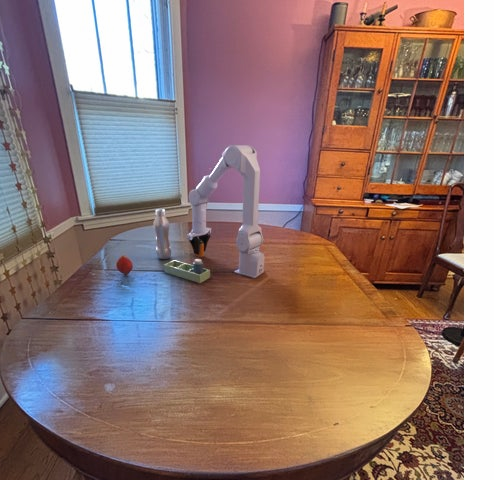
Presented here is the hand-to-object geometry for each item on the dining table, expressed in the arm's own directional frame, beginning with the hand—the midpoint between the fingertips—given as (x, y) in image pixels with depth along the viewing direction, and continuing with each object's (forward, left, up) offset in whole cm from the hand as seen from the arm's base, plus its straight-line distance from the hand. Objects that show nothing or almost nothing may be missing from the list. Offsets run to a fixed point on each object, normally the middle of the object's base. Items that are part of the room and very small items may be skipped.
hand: (199, 252), depth 131 cm
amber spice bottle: (0, 0, -2) cm, 2 cm away
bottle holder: (-9, +20, -2) cm, 22 cm away
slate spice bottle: (-15, +20, -1) cm, 25 cm away
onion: (+10, +33, -2) cm, 35 cm away
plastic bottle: (+11, +11, -2) cm, 16 cm away
